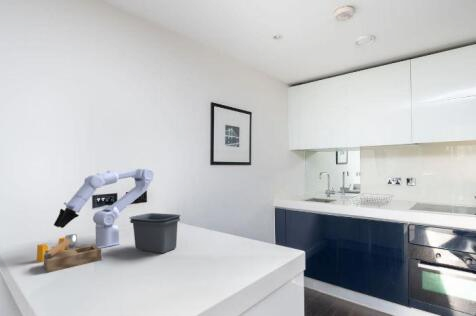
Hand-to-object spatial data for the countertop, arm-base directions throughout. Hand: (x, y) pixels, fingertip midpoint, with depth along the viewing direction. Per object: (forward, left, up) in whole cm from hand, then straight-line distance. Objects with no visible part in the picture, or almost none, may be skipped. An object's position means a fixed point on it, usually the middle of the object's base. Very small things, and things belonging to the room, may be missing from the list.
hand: (57, 226), depth 108 cm
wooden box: (-3, +13, -12) cm, 18 cm away
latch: (+2, +13, -6) cm, 15 cm away
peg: (-4, +1, -12) cm, 13 cm away
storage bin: (-33, +20, -12) cm, 41 cm away
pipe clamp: (+2, -3, -13) cm, 13 cm away
